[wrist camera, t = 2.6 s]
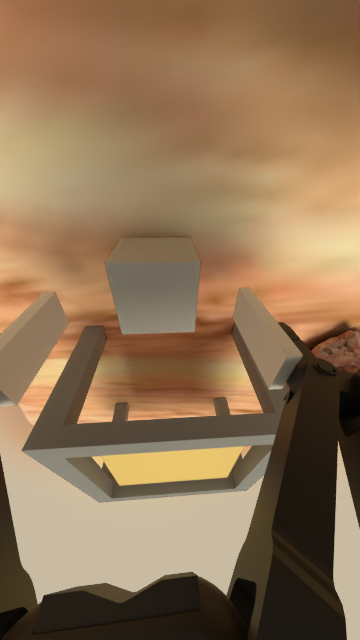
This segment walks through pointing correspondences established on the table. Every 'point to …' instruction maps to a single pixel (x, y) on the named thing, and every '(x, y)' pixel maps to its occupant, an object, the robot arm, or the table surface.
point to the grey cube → (154, 284)
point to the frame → (148, 432)
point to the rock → (340, 351)
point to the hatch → (172, 465)
